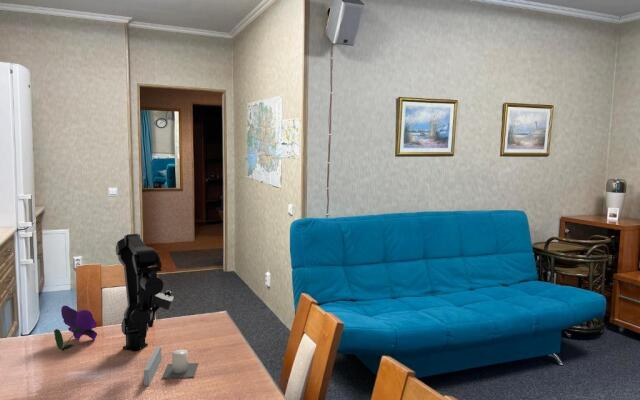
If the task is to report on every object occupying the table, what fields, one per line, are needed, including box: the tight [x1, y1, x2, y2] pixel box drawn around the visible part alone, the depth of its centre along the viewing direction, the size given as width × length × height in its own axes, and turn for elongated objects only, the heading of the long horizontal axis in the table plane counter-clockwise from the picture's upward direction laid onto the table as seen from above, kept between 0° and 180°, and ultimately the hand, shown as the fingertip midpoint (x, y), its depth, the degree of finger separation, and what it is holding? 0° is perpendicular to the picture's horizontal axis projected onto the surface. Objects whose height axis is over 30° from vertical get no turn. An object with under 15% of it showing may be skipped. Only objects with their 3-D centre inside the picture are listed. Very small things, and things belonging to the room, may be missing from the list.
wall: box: [143, 346, 162, 386], centre depth 163 cm, size 18×2×5 cm, turn 6°
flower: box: [53, 305, 98, 352], centre depth 183 cm, size 15×15×14 cm
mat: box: [161, 362, 199, 380], centre depth 164 cm, size 10×10×1 cm
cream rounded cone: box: [171, 349, 189, 374], centre depth 164 cm, size 5×5×6 cm
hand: (147, 332), depth 166 cm, fingers open, 9 cm apart
